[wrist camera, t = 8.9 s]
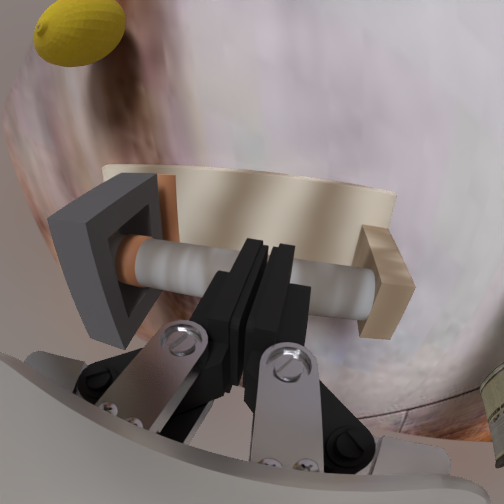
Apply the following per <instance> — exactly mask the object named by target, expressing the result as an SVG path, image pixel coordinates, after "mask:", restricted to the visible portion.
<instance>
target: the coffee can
mask: <svg viewBox="0 0 504 504" xmlns="http://www.w3.org/2000/svg"><path fill="white" fill-rule="evenodd" d="M479 392H480V394H481V397H482V400H483V404H484V407H485V411H486V415H487V419H488V423H489V428H490V432H491V437H492V442H493V448H494V453H495V460H496V464H495V467H496V468H501V467H503V466H504V363H503V364H501V365H500V366H499V367H497V368H496V369H495V370H494V371H493V372H492V373H491V374H490V375H489V376H488V377H487V378H486V379H485V380H484V381H483V383H482V385H481V387H480V390H479Z"/></svg>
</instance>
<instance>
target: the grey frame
mask: <svg viewBox="0 0 504 504" xmlns="http://www.w3.org/2000/svg"><path fill="white" fill-rule="evenodd" d="M47 220H48V224H49V228H50V232H51V235H52V239H53V242H54V246H55V249H56V252H57V255H58V258H59V261H60V265H61V267H62V270H63V273H64V276H65V279H66V282H67V284H68V287H69V289H70V292H71V295H72V297H73V300H74V302H75V305H76V307H77V310H78V312H79V314H80V317H81V319H82V321H83V323H84V326H85V328H86V330H87V332H88V334H89V336H90V338H92V339H94V340H97V341H100V342H103V343H106V344H108V345H111V346H114V347H117V348H120V349H123V350H126V348H127V346H128V345H129V343H130V341H131V340H132V338H133V336H134V335H135V333H136V331H137V330H138V328H139V327H140V325H141V323H142V322H143V320H144V319H145V317H146V315H147V314H148V312H149V311H150V309H151V307H152V306H153V304H154V303H155V301H156V300H157V298H158V297H159V295H160V293H161V292H162V290H160V289H155V288H150V287H144V288H143V287H138V286H133V285H129V284H124V283H122V282H120V281H118V280H117V277H116V273H115V269H114V265H113V261H112V257H111V252H110V248H109V243H108V238H109V237H110V236H111V235H112V234H113V233H115V232H116V231H117V230H118V233H119V234H123V235H128V234H135V235H142V236H149V237H152V238H154V239H159V240H163V236H162V227H161V217H160V206H159V195H158V181H157V173H120V174H118V175H116V176H114V177H112V178H111V179H109V180H107V181H105V182H104V183H102V184H100V185H98V186H97V187H95V188H93V189H92V190H90V191H88V192H87V193H85V194H84V195H82V196H80V197H79V198H77V199H76V200H74V201H72V202H71V203H69V204H68V205H66V206H65V207H63V208H62V209H60V210H59V211H57V212H56V213H54V214H53V215H51V216H50V217H49V218H47Z"/></svg>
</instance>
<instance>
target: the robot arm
mask: <svg viewBox="0 0 504 504" xmlns="http://www.w3.org/2000/svg"><path fill="white" fill-rule="evenodd" d="M268 249H269V246H268V245H263V240H257V239H251V238H247V239H246V241H245V243H244V245H243V247H242V249H241V251H240V253H239V255H238V257H237V258H236V260H235V262H234V264H233V266H232V268H231V270H230V272H226V271H220V270H219V271H217V272H216V274H215V276H214V277H213V279H212V281H211V283H210V284H209V286H208V288H207V290H206V291H205V293H204V295H203V297H202V299H201V300H200V302H199V304H198V306H197V307H196V309H195V311H194V313H193V314H192V316H191V318H190V320H189V321H188V320H177V321H173V322H170V323H168V324H166V325H164V326H163V327H161V328H160V329H159V330H158V331H157V332H156V334H155V335H154V336H153V337H152V338H151V339H150V340H149V342H148V343H147V344H146V345H145V347H143V348H140V349H137V350H134V351H131V352H128V353H125V354H122V355H118V356H115V357H111V358H108V359H105V360H102V361H98V362H95V363H93V364H90V365H86V363H85V362H84V361H80V360H75V359H71V358H67V357H63V356H59V355H55V354H51V353H47V352H44V351H36V352H33V353H31V354H30V355H29V356H28V357H27V358H26V359H25V361H24V362H22V361H20V360H19V359H17V358H15V357H13V356H10V355H8V354H5V353H1V352H0V504H492V502H491V499H490V496H489V495H488V493H487V491H486V490H485V489H484V488H483V487H481V486H480V485H479V484H477V483H475V482H473V481H470V480H467V479H465V478H462V477H456V476H451V475H450V469H451V459H450V457H449V455H448V453H447V452H446V451H445V450H444V449H443V448H440V447H438V446H432V445H426V444H421V443H416V442H411V441H406V440H401V439H397V438H393V437H389V436H385V435H384V436H383V437H381V438H380V437H376V436H373V435H372V434H371V433H370V431H369V430H368V429H367V428H366V427H365V426H364V425H363V424H362V423H361V422H360V421H359V420H358V419H357V418H356V417H355V416H354V415H353V414H352V413H351V412H350V411H349V410H348V409H347V408H346V407H345V406H344V405H343V404H342V403H341V402H340V401H339V400H338V399H337V398H336V397H335V396H334V394H333V393H332V392H331V391H330V390H329V389H328V388H327V387H326V386H325V385H324V384H323V383H322V382H321V381H320V380H319V371H318V363H317V360H316V357H315V356H314V355H313V353H312V352H311V351H310V350H308V349H307V348H306V347H304V344H305V337H306V329H307V321H308V313H309V304H310V295H311V286H305V285H299V284H293V283H290V279H291V273H292V266H293V260H294V253H295V246H294V245H288V244H282V243H280V244H279V247H275V246H273V248H272V251H271V254H270V257H269V260H268ZM267 260H268V262H267ZM242 373H243V387H244V388H245V395H244V401H245V402H246V404H247V405H248V407H249V408H250V409H251V411H252V412H253V421H252V433H251V442H250V452H249V462H248V461H243V460H239V459H235V458H230V457H227V456H223V455H219V454H215V453H212V452H208V451H205V450H202V449H198V448H195V447H192V446H189V443H190V442H191V440H192V438H193V437H194V435H195V434H196V432H197V430H198V429H199V427H200V425H201V424H202V422H203V420H204V419H205V417H206V415H207V413H208V412H209V410H210V408H211V407H212V405H213V402H214V399H217V398H219V397H221V396H224V393H225V392H227V393H230V390H231V387H232V385H235V386H238V385H239V382H240V379H241V376H242Z"/></svg>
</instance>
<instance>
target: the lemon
mask: <svg viewBox="0 0 504 504" xmlns="http://www.w3.org/2000/svg"><path fill="white" fill-rule="evenodd" d="M125 27H126V18H125V14H124V11H123V9H122V8H121V6H120V5H119V4H118V3H117V2H116V1H115V0H57V1H56V2H55V3H53V4H52V5H51V6H50V7H49V8H48V9H47V10H46V11H45V12H44V13H43V15H42V16H41V17H40V19H39V21H38V23H37V25H36V28H35V31H34V45H35V49H36V51H37V52H38V54H39V56H40V57H41V58H43V59H44V60H45V61H47V62H49V63H51V64H55V65H59V66H64V67H76V66H85V65H89V64H91V63H94V62H96V61H99V60H101V59H102V58H104V57H105V56H107V55H108V54H109V53H111V52H112V51H113V50H114V49H115V48H116V46H117V45H118V43H119V42H120V41H121V39H122V37H123V34H124V31H125Z"/></svg>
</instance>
